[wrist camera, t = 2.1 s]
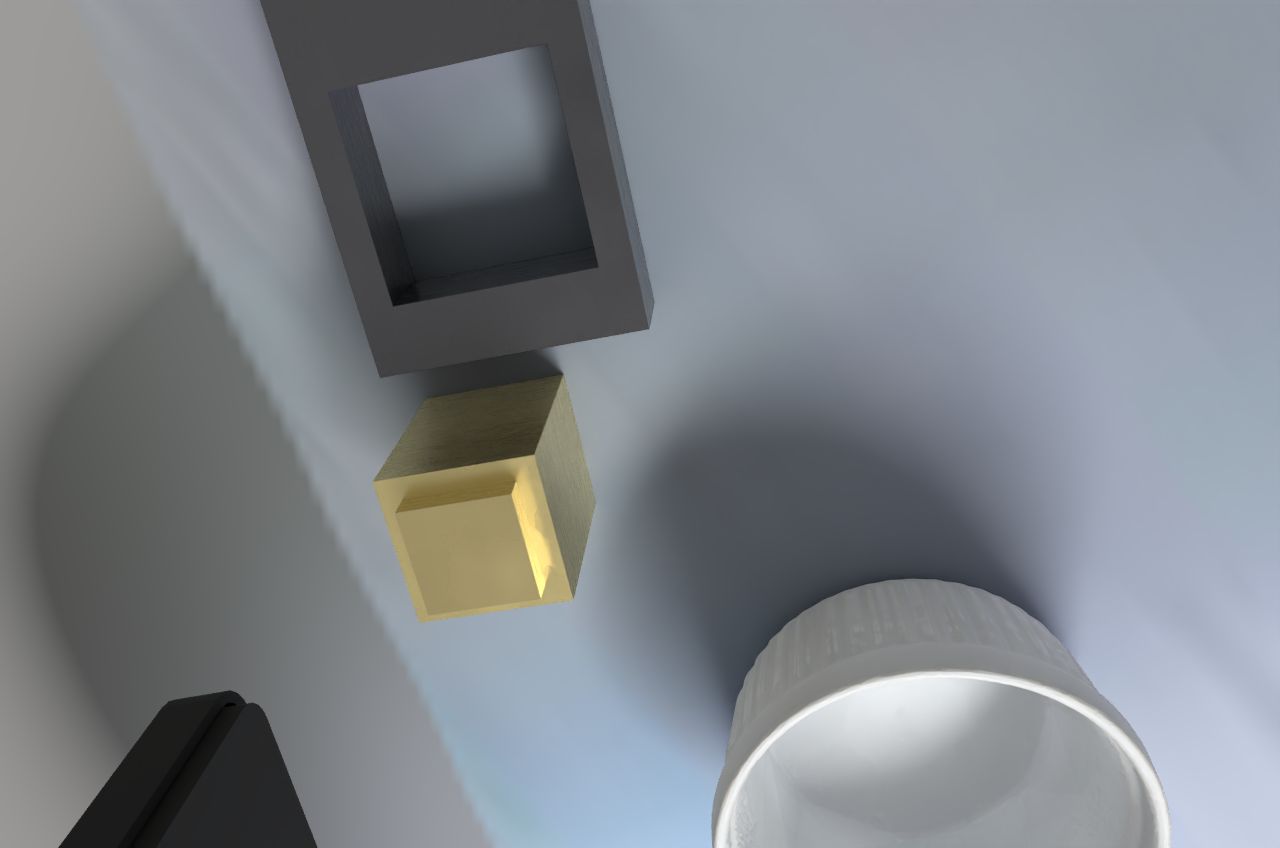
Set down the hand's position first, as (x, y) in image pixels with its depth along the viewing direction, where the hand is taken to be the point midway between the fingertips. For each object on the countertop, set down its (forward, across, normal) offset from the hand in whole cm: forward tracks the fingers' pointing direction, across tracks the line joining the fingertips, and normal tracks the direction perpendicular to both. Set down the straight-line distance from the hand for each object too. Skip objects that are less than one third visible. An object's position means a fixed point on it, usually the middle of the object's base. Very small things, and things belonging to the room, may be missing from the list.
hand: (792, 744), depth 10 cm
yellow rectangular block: (+26, +8, +6) cm, 27 cm away
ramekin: (+26, -3, +18) cm, 32 cm away
